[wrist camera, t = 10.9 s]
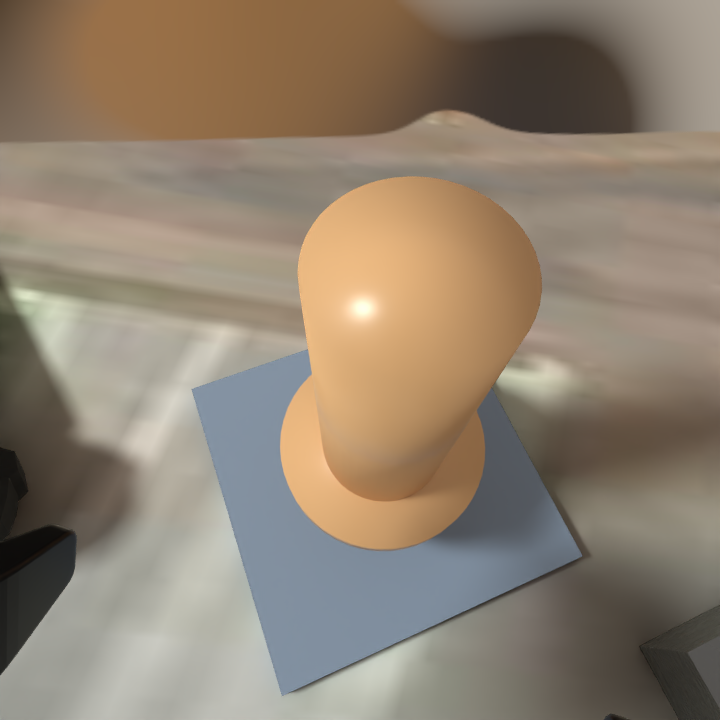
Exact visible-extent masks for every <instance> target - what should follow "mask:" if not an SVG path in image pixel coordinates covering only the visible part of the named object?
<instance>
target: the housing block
mask: <svg viewBox="0 0 720 720" xmlns="http://www.w3.org/2000/svg"><path fill="white" fill-rule="evenodd" d="M640 648H641V650H642V652H643V654H644V656H645V657H646V659H647V661H648V663H649V665H650V667H651V668H652V670H653V672H654V674H655V676H656V678H657V679H658V681H659V683H660V685H661V687H662V689H663V691H664V692H665V694H666V696H667V698H668V700H669V702H670V703H671V705H672V707H673V709H674V711H675V713H676V714H677V716H678V718H679V720H720V605H719V606H717V607H715V608H713V609H711V610H709V611H707V612H705V613H703V614H701V615H699V616H697V617H695V618H693V619H691V620H690V621H688V622H686V623H684V624H682V625H680V626H678V627H676V628H674V629H672V630H670V631H668V632H666V633H664V634H662V635H660V636H658V637H656V638H654V639H652V640H651V641H649V642H647V643H645V644H643V645H641V646H640Z"/></svg>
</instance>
